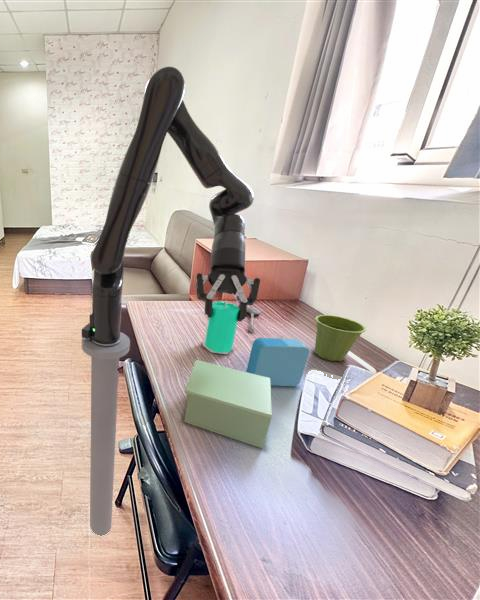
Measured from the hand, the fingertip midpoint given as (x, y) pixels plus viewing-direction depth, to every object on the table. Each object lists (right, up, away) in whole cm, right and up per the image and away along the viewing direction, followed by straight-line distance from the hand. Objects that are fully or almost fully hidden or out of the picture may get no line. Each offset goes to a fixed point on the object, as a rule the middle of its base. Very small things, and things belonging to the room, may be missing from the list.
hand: (224, 318), depth 70 cm
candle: (+1, -7, +5) cm, 9 cm away
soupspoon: (+33, -4, +50) cm, 60 cm away
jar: (+12, -12, +31) cm, 35 cm away
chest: (+1, -23, +3) cm, 23 cm away
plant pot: (+45, -13, +26) cm, 53 cm away
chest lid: (+1, -15, 0) cm, 15 cm away
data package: (+19, -18, +14) cm, 30 cm away
